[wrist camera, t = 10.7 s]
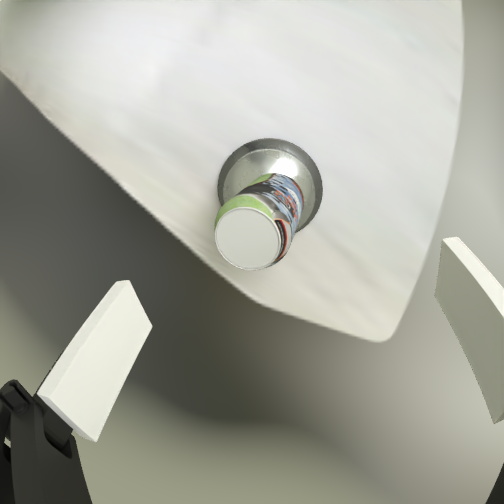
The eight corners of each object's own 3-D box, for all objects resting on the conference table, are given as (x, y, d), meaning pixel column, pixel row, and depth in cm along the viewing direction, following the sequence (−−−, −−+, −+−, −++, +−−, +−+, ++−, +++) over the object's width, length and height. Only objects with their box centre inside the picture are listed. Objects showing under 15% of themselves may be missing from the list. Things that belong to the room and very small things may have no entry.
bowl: (207, 151, 32) (201, 154, 30) (311, 129, 29) (313, 131, 27) (233, 243, 37) (230, 252, 35) (328, 228, 35) (331, 236, 33)
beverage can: (297, 227, 33) (300, 291, 22) (232, 216, 33) (205, 274, 22) (308, 173, 29) (319, 214, 19) (238, 162, 30) (210, 197, 19)
